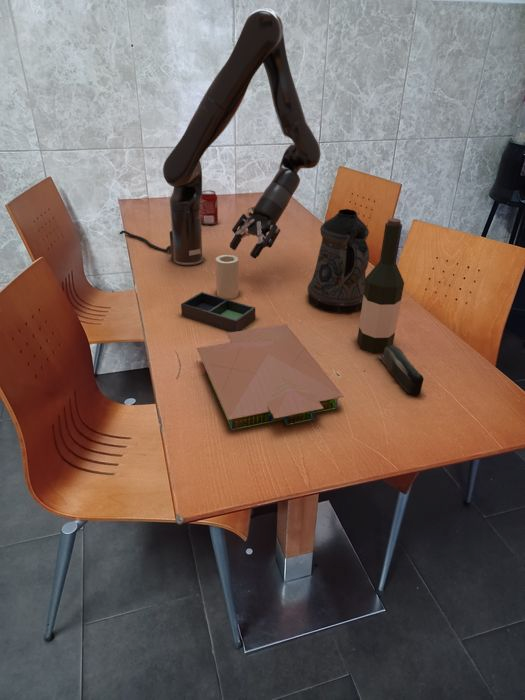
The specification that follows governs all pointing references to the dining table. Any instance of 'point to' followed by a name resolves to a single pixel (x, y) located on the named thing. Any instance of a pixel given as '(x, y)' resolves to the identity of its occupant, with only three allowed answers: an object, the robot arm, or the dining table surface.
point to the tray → (218, 312)
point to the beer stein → (341, 264)
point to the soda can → (209, 207)
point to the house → (266, 375)
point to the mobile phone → (402, 370)
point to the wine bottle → (382, 295)
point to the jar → (227, 276)
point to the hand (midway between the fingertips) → (242, 252)
